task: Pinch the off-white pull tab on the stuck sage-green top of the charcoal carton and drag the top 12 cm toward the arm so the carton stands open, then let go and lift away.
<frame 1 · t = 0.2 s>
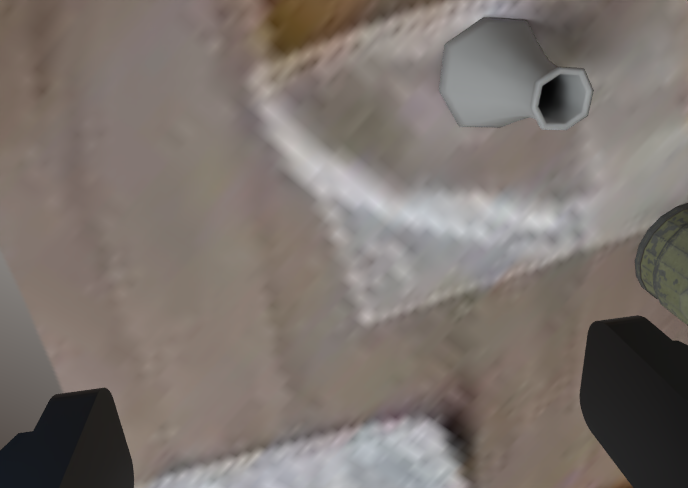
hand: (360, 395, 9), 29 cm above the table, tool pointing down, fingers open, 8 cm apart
flask: (488, 74, 37), on the table
thermos: (683, 250, 45), on the table
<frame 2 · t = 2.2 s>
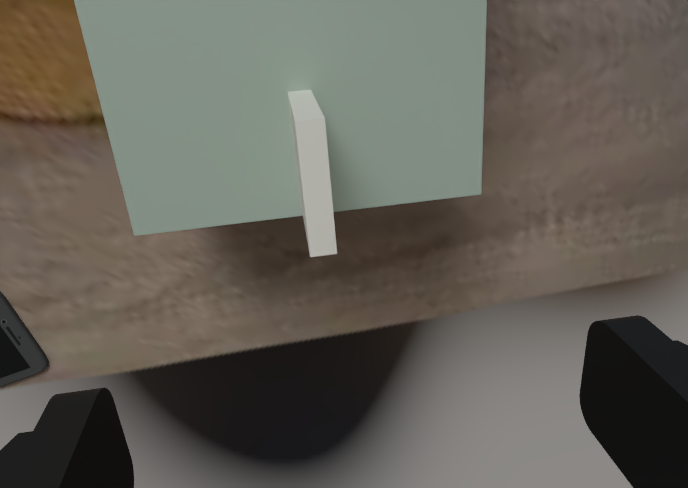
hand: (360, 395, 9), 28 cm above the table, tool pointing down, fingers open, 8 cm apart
lid: (295, 32, 20), point 14 cm above the table, slide at 0.0 cm
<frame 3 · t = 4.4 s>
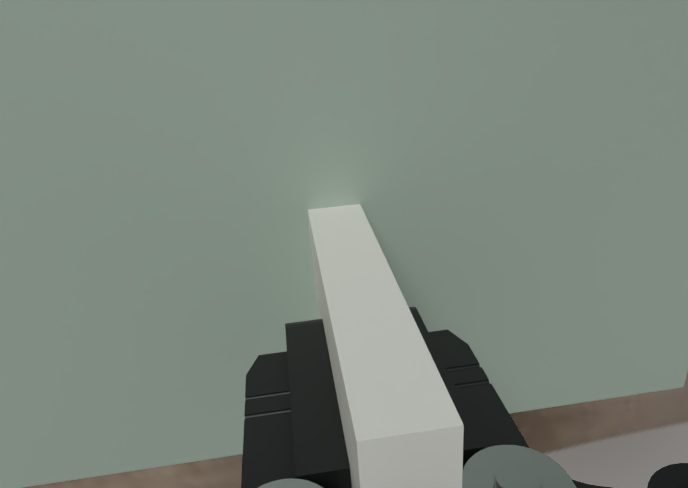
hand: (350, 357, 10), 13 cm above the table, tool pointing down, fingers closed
lid: (342, 93, 7), point 14 cm above the table, slide at 0.0 cm, touching gripper
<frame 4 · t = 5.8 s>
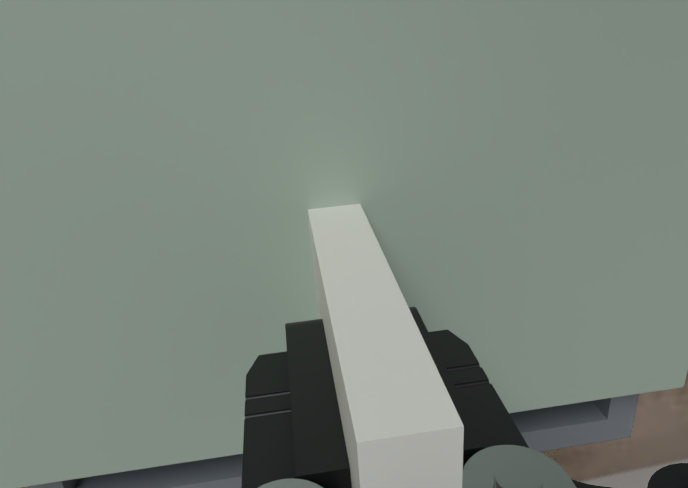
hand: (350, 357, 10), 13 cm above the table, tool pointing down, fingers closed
carton: (299, 113, 21), on the table
lid: (342, 94, 7), point 14 cm above the table, slide at 2.9 cm, touching gripper
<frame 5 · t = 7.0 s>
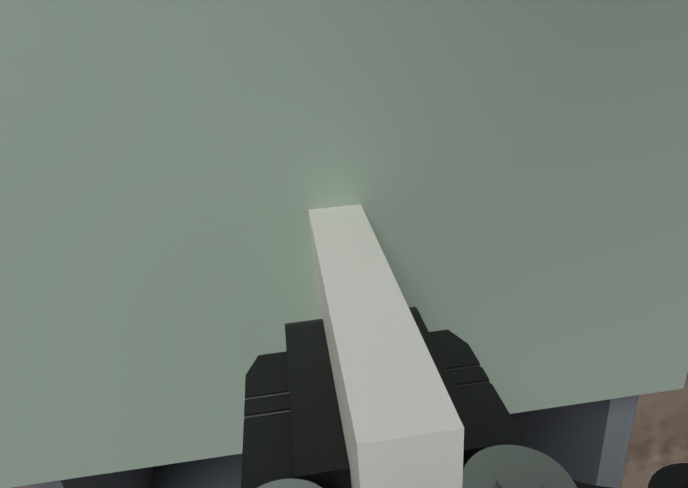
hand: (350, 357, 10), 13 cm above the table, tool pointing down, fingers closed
carton: (312, 237, 23), on the table
lid: (344, 94, 7), point 14 cm above the table, slide at 8.0 cm, touching gripper
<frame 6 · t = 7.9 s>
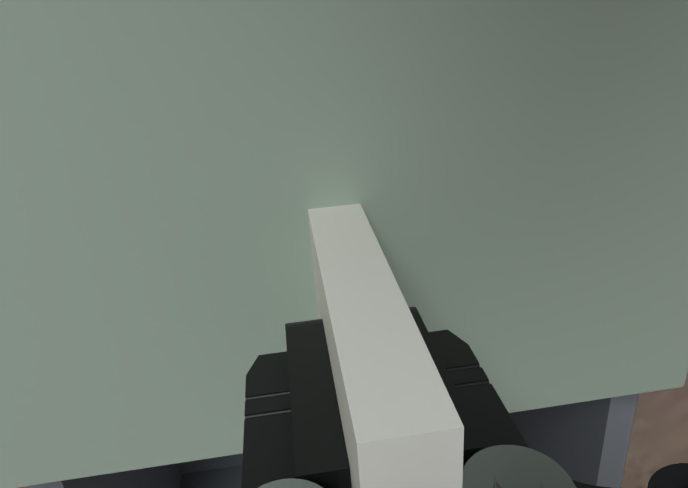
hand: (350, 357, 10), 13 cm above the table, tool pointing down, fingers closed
carton: (320, 314, 24), on the table
lid: (342, 93, 7), point 14 cm above the table, slide at 11.7 cm, touching gripper
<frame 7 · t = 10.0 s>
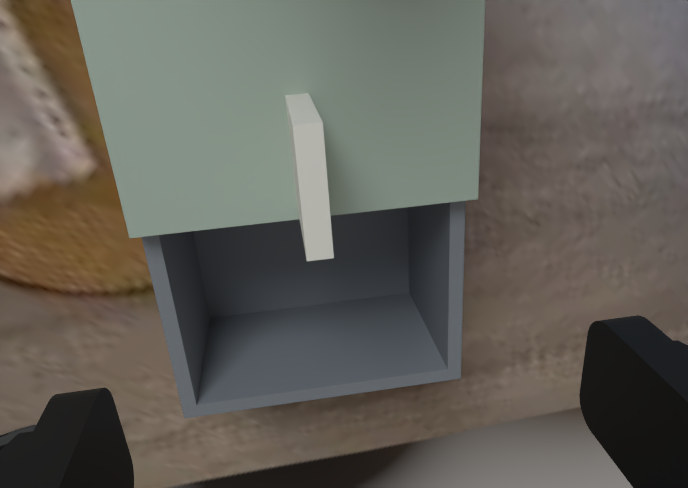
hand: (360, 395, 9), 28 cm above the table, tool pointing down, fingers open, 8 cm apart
carton: (300, 207, 38), on the table
lid: (294, 36, 20), point 14 cm above the table, slide at 11.8 cm
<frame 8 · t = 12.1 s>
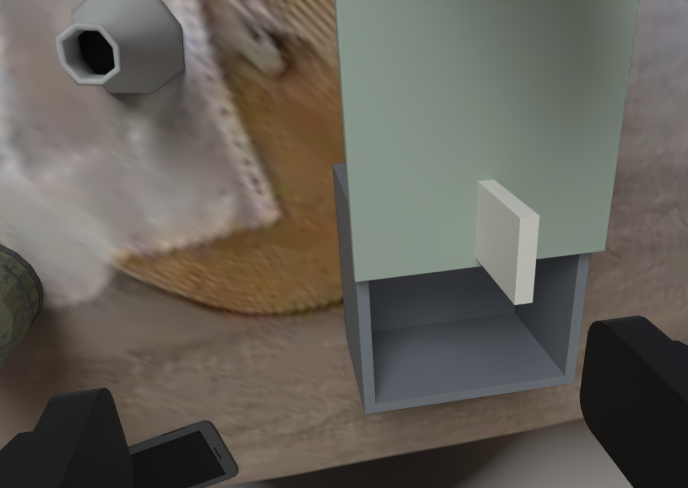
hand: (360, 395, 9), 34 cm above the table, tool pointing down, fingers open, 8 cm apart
carton: (433, 245, 47), on the table
flask: (131, 40, 38), on the table
lid: (505, 150, 30), point 14 cm above the table, slide at 11.8 cm
cell phone: (158, 465, 53), on the table
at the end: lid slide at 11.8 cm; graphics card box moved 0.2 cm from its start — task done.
